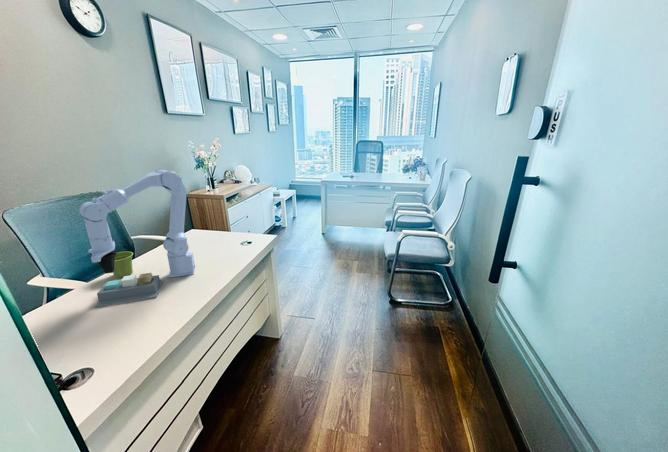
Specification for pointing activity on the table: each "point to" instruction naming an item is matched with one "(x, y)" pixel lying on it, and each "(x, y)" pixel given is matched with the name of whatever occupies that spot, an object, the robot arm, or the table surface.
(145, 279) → the oak key
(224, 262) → the table surface
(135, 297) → the tray
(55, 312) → the table surface
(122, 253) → the plant pot
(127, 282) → the ivory key
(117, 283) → the teal key
